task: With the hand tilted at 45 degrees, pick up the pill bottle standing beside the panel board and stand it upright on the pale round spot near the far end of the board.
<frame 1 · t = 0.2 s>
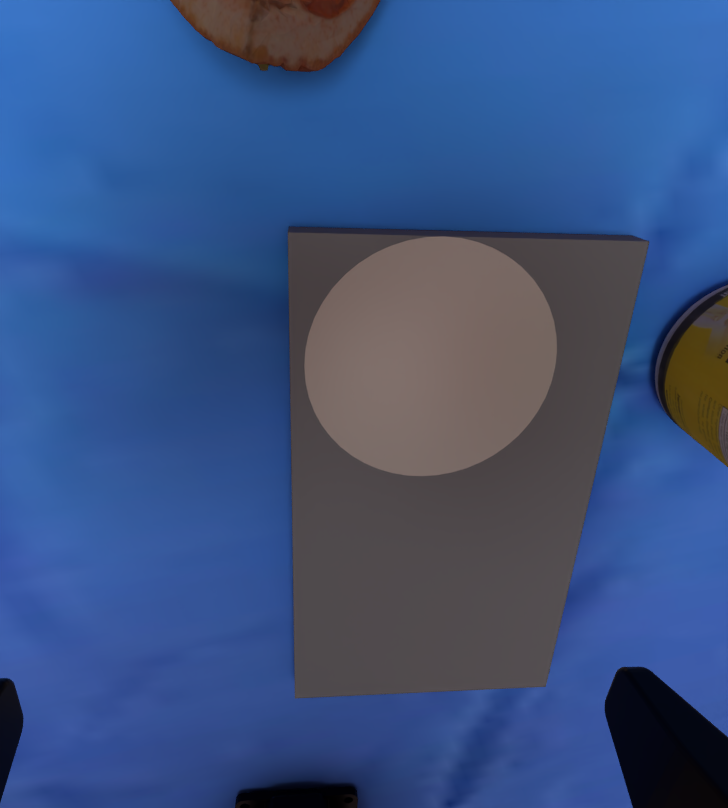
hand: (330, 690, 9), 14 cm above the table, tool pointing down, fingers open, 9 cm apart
panel board: (437, 490, 25), on the table
pill bottle: (723, 354, 24), on the table
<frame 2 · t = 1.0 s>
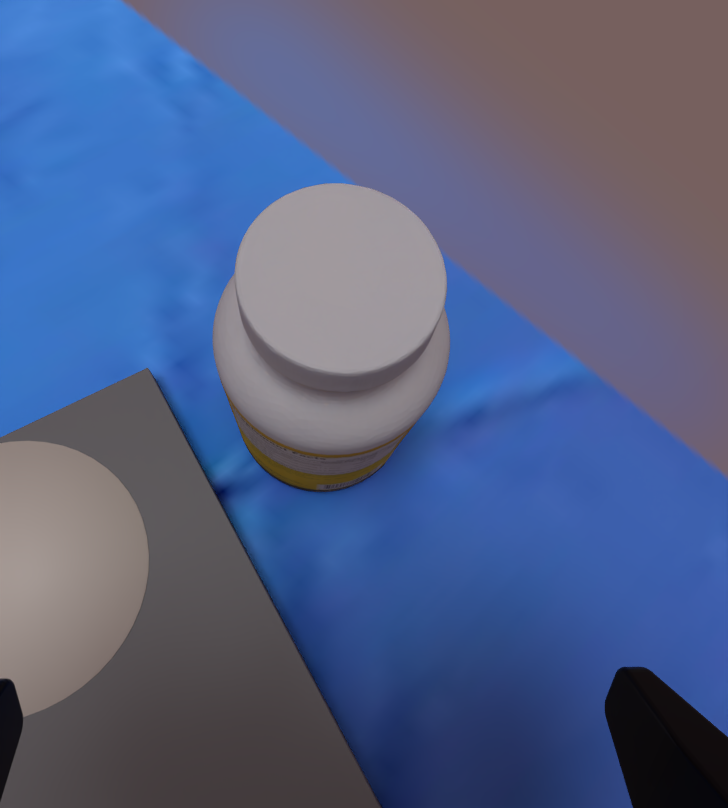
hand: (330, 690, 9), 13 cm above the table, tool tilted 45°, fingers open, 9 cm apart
panel board: (124, 716, 20), on the table
pill bottle: (320, 416, 24), on the table
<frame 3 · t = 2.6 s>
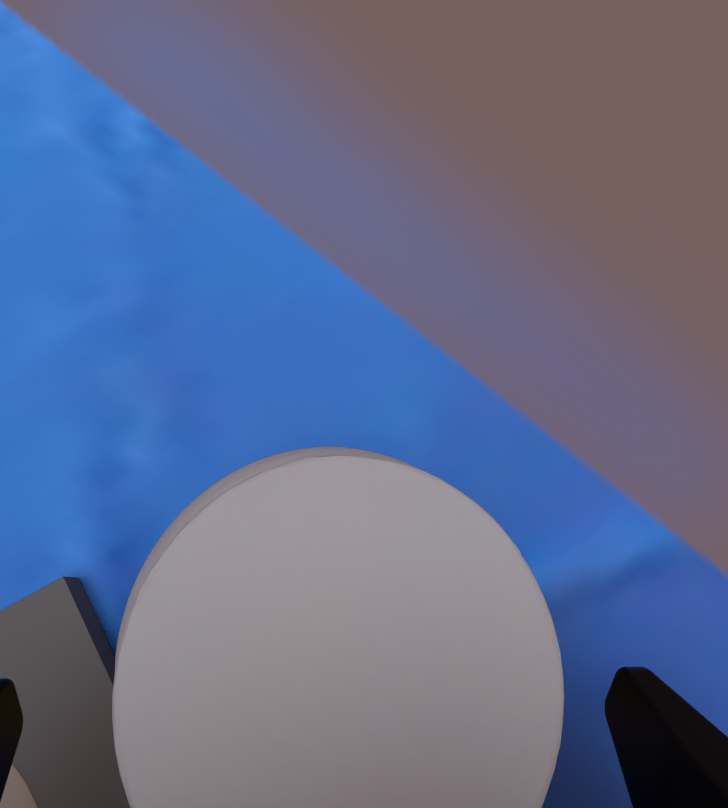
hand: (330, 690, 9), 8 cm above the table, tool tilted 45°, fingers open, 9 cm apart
pill bottle: (313, 624, 17), on the table
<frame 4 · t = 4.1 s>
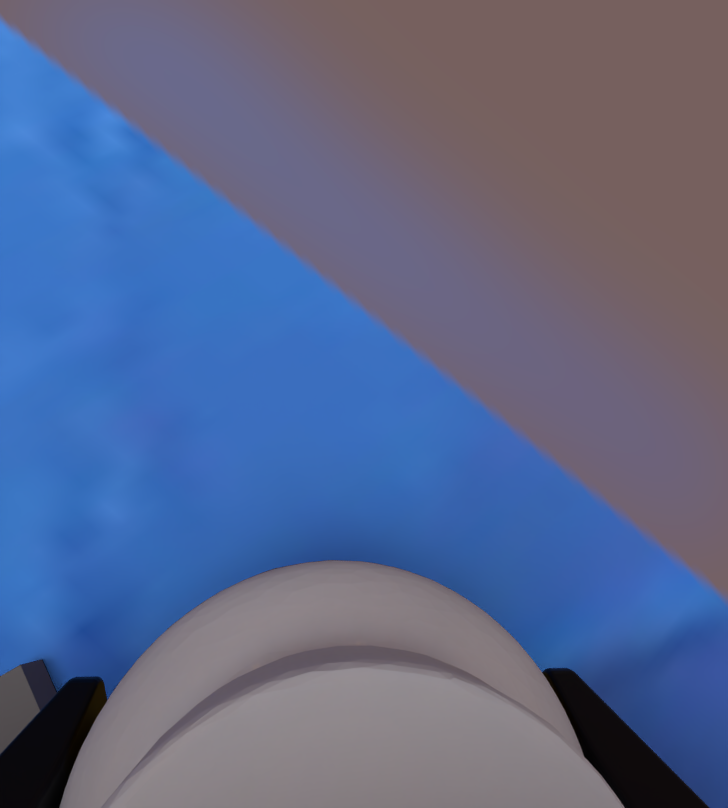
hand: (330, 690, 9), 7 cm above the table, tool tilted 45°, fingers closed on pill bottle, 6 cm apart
pill bottle: (314, 709, 15), on the table, touching gripper
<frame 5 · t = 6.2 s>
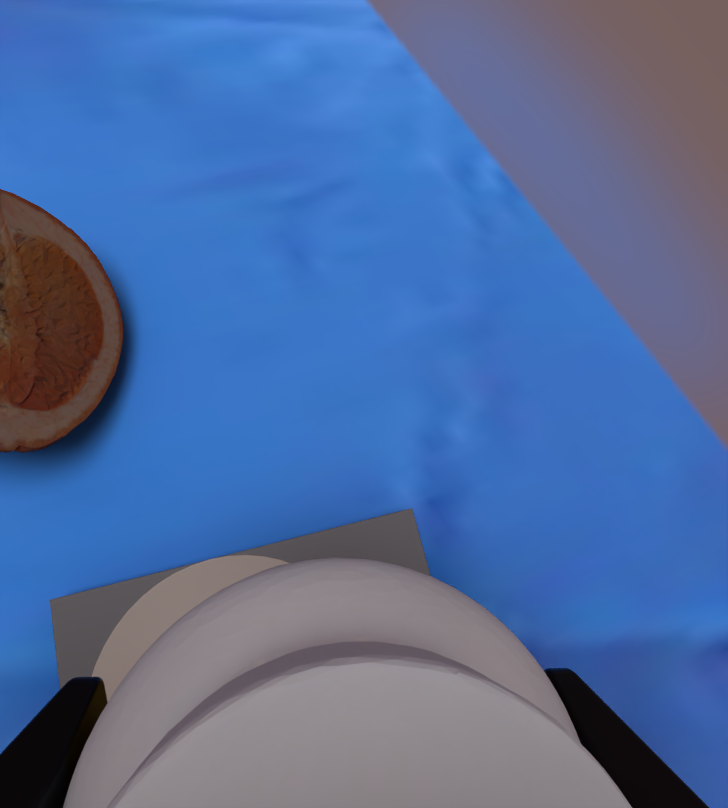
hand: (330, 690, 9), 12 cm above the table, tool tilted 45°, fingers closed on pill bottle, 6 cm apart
pill bottle: (313, 706, 15), point 5 cm above the table, touching gripper
fruit slice: (38, 367, 22), on the table
when the fingers open (8 cm above the table, at t = 8.2 s): pill bottle stays where it is, resting on panel board.
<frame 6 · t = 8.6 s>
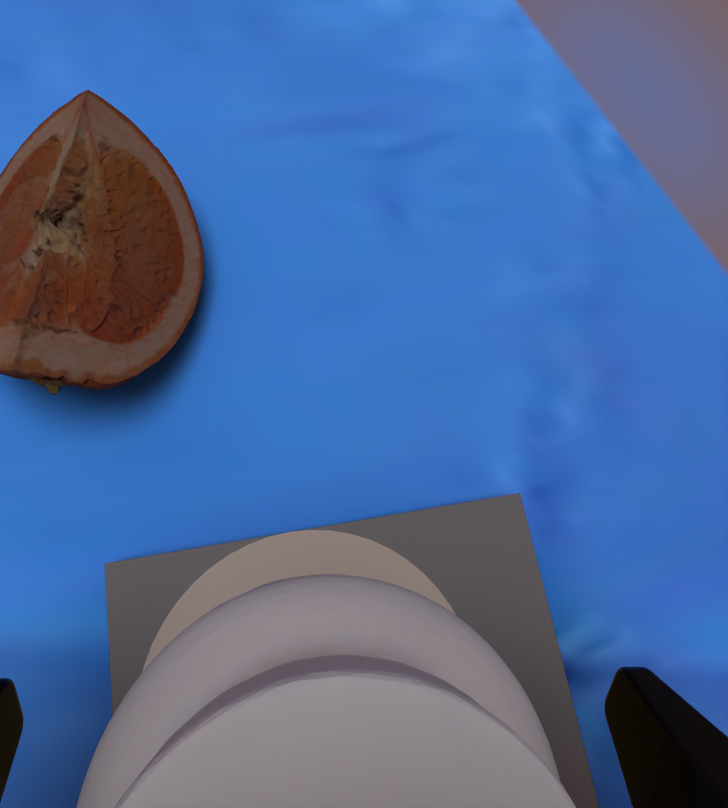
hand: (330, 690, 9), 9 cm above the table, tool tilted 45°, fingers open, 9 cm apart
pill bottle: (311, 710, 16), point 1 cm above the table, touching panel board
fruit slice: (104, 306, 20), on the table
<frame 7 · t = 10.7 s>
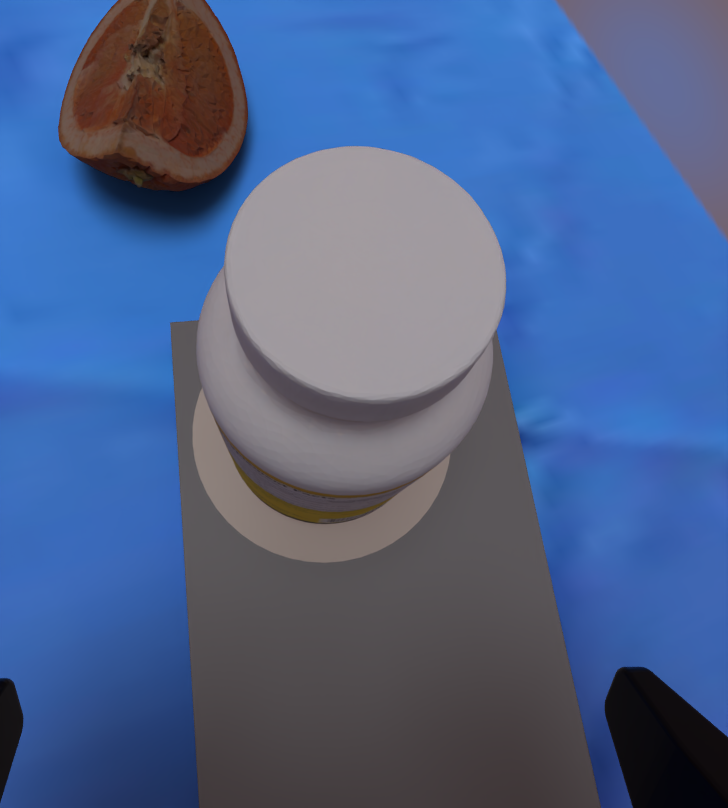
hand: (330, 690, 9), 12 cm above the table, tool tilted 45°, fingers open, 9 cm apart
panel board: (373, 603, 21), on the table
pill bottle: (323, 434, 21), point 1 cm above the table, touching panel board
fruit slice: (165, 151, 25), on the table
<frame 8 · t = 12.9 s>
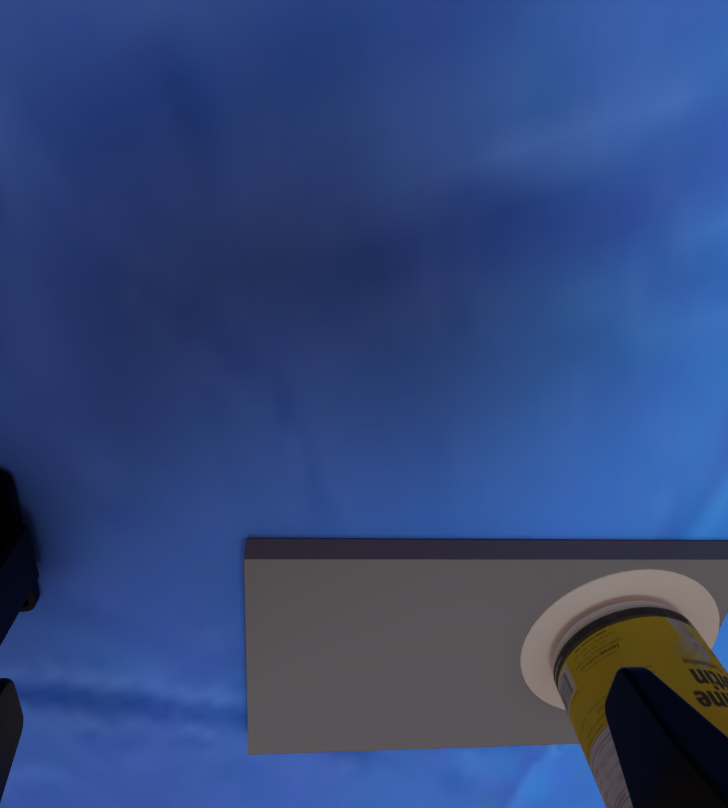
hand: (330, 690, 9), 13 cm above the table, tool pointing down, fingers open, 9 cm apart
panel board: (478, 641, 28), on the table
pill bottle: (615, 642, 27), point 1 cm above the table, touching panel board
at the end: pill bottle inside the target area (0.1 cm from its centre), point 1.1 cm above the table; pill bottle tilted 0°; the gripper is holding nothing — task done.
